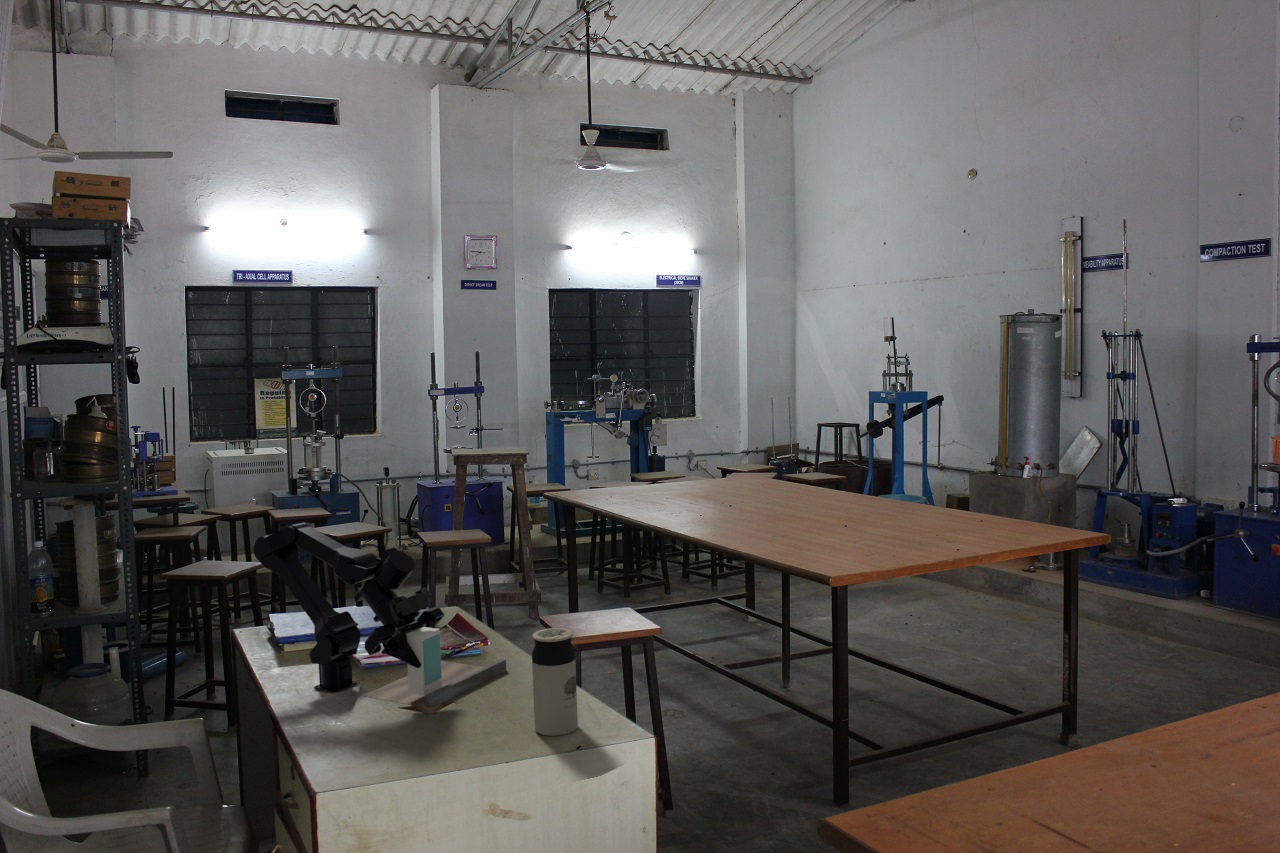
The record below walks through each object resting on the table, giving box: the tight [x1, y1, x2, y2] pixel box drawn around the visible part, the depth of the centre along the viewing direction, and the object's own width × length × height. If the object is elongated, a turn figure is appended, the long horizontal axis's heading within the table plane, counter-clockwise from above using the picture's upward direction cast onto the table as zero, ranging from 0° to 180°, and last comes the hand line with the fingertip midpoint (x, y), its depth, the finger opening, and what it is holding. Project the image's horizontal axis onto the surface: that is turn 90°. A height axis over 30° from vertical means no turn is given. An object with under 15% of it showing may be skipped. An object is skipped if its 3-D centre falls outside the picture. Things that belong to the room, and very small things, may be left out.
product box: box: [406, 627, 442, 695], centre depth 192 cm, size 4×6×12 cm
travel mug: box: [531, 627, 579, 737], centre depth 176 cm, size 8×8×18 cm
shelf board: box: [362, 658, 507, 715], centre depth 202 cm, size 18×25×4 cm
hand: (429, 662), depth 192 cm, fingers closed on product box, 5 cm apart
